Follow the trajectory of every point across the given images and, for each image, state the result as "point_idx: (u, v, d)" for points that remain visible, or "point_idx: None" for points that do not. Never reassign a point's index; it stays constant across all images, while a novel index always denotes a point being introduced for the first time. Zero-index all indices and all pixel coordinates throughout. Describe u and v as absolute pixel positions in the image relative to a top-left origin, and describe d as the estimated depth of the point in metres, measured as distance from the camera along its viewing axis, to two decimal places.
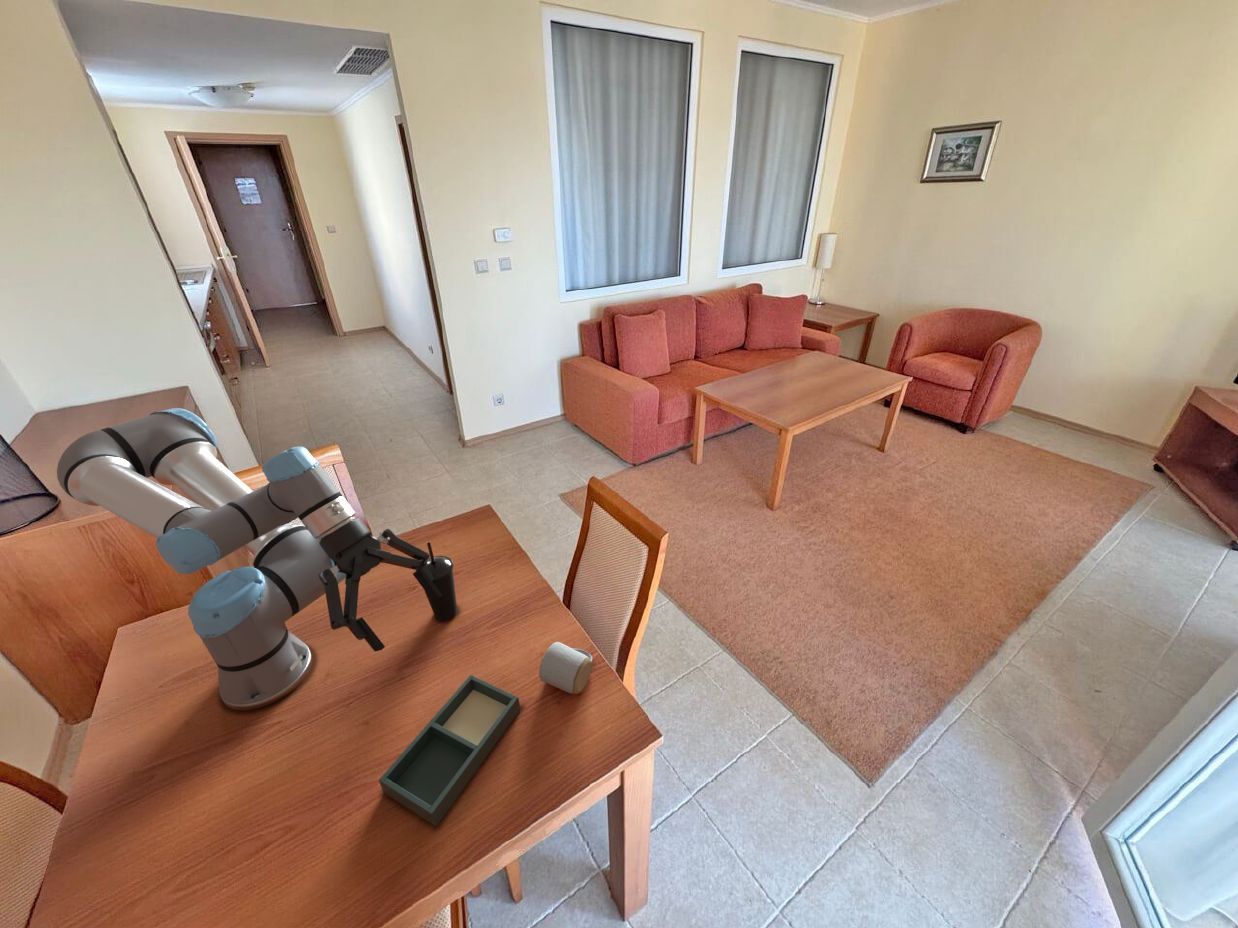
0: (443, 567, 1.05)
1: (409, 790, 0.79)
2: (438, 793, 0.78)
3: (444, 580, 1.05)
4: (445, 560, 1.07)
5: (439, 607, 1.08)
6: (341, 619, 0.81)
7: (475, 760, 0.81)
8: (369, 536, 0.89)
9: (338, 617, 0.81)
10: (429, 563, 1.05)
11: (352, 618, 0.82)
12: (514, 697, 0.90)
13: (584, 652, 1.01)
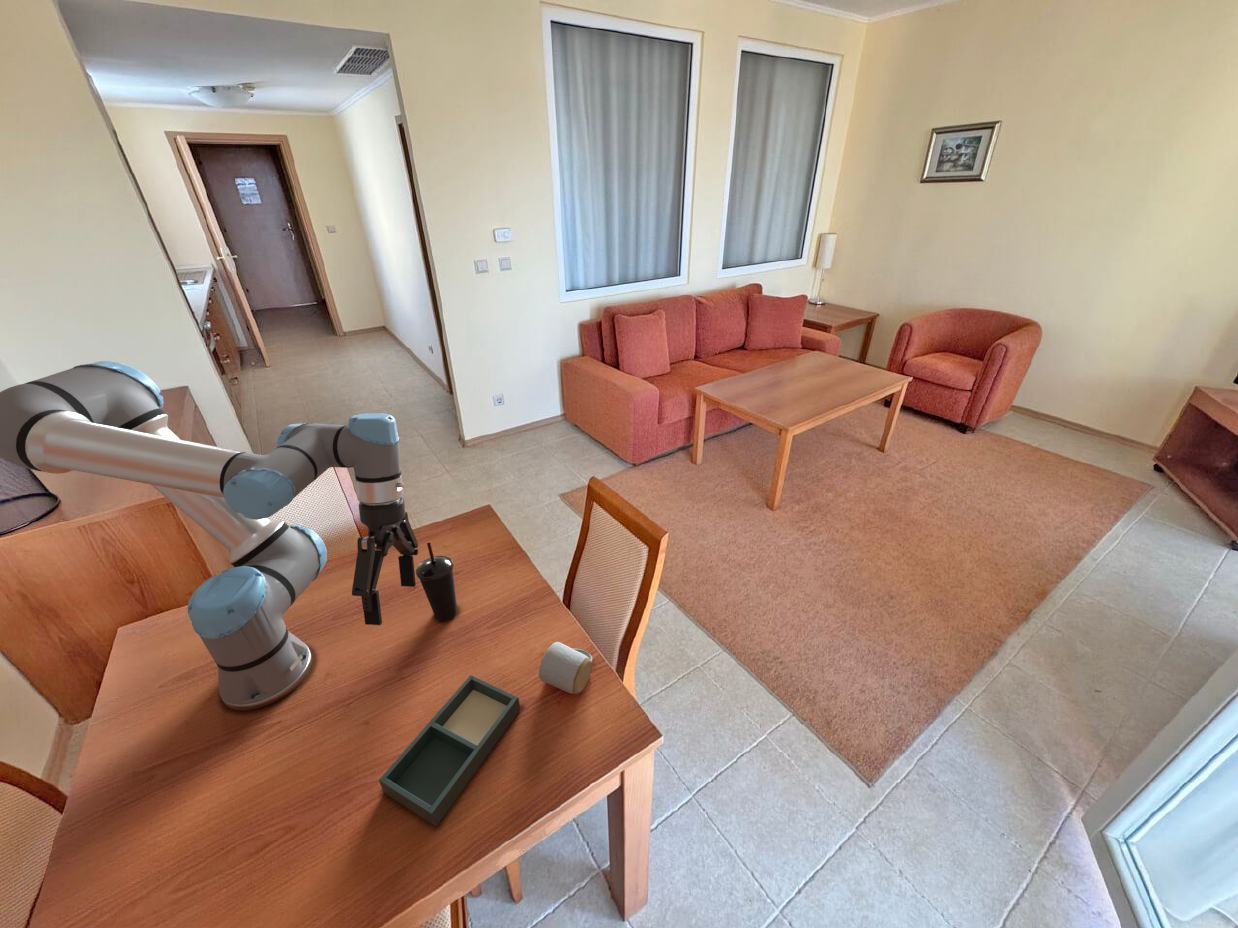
0: (443, 567, 1.05)
1: (409, 790, 0.79)
2: (438, 793, 0.78)
3: (444, 580, 1.05)
4: (445, 560, 1.07)
5: (439, 607, 1.08)
6: (368, 588, 0.84)
7: (475, 760, 0.81)
8: None
9: (367, 585, 0.84)
10: (429, 563, 1.05)
11: (374, 590, 0.86)
12: (514, 697, 0.90)
13: (584, 652, 1.01)
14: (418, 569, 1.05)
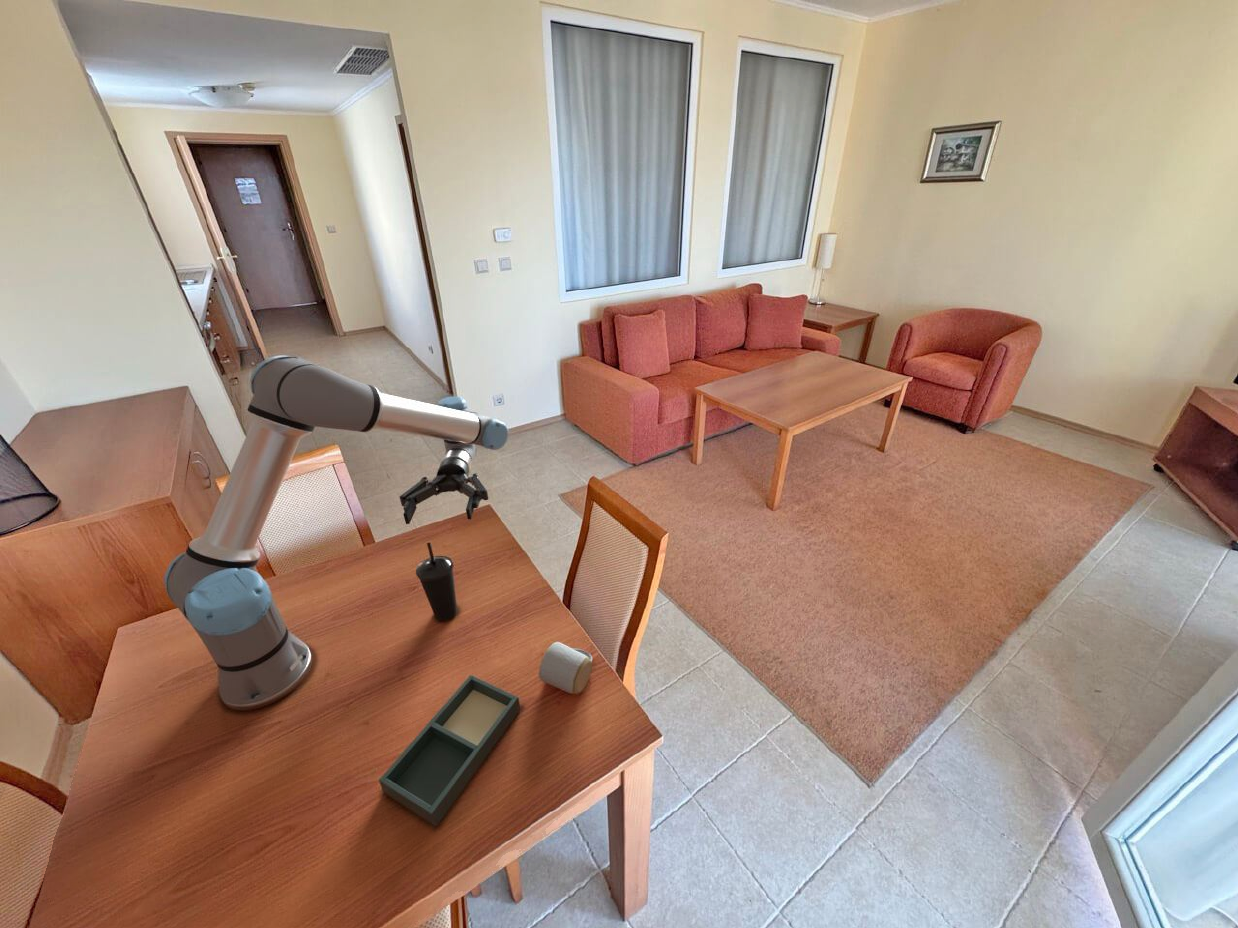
0: (443, 567, 1.05)
1: (409, 790, 0.79)
2: (438, 793, 0.78)
3: (444, 580, 1.05)
4: (445, 560, 1.07)
5: (439, 607, 1.08)
6: None
7: (475, 760, 0.81)
8: None
9: None
10: (429, 563, 1.05)
11: None
12: (514, 697, 0.90)
13: (584, 652, 1.01)
14: (418, 569, 1.05)
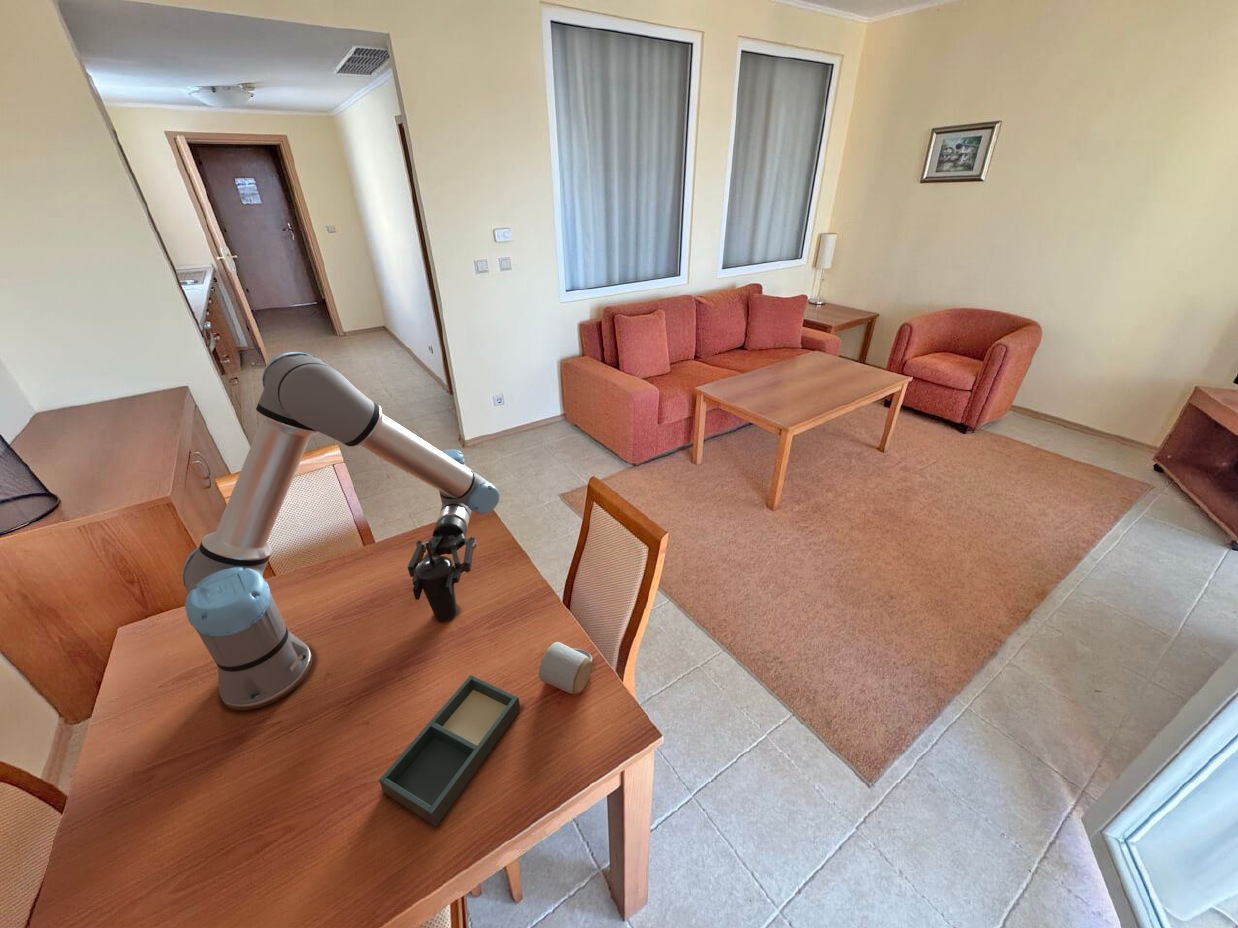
0: (442, 567, 1.05)
1: (409, 790, 0.79)
2: (438, 793, 0.78)
3: (443, 580, 1.05)
4: (444, 560, 1.07)
5: (439, 607, 1.08)
6: None
7: (475, 760, 0.81)
8: None
9: None
10: (428, 563, 1.05)
11: None
12: (514, 697, 0.90)
13: (584, 652, 1.01)
14: (417, 569, 1.05)
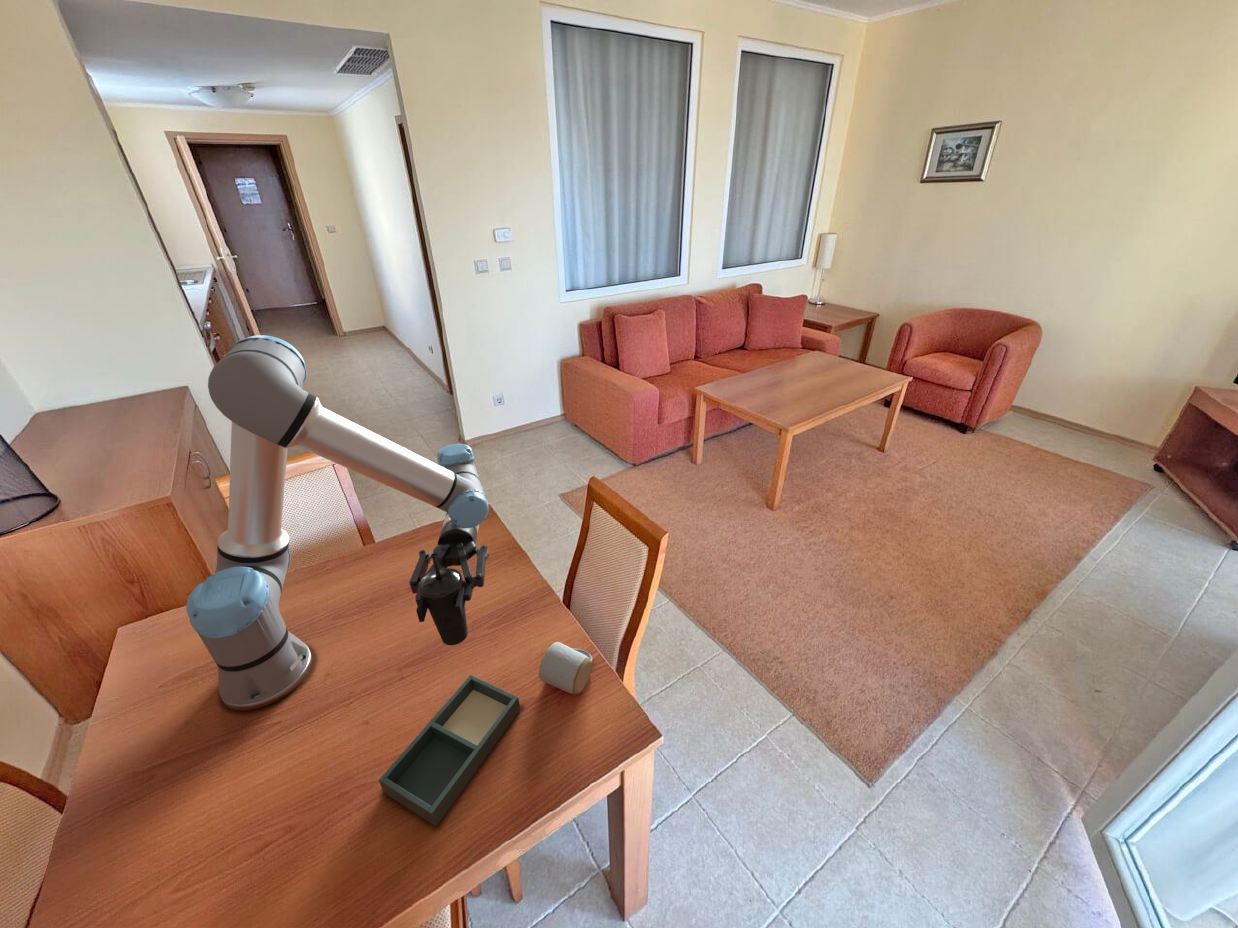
0: (451, 582, 0.88)
1: (409, 790, 0.79)
2: (438, 793, 0.78)
3: (452, 598, 0.88)
4: (453, 573, 0.90)
5: (447, 629, 0.91)
6: None
7: (475, 760, 0.81)
8: None
9: None
10: (434, 578, 0.88)
11: None
12: (514, 697, 0.90)
13: (584, 652, 1.01)
14: (421, 585, 0.88)
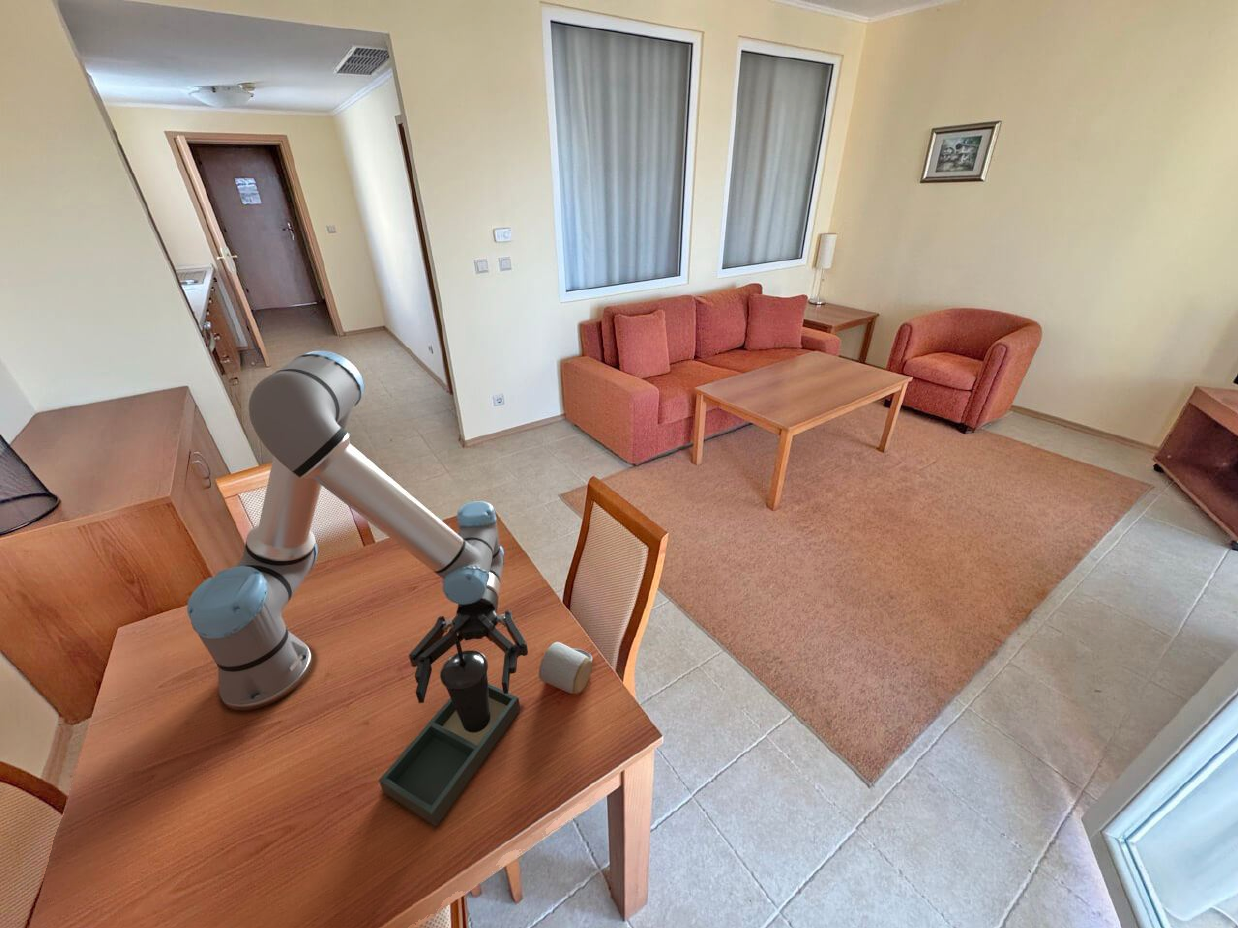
0: (476, 670, 0.81)
1: (409, 790, 0.79)
2: (438, 793, 0.78)
3: (477, 687, 0.81)
4: (477, 659, 0.83)
5: (470, 718, 0.84)
6: None
7: (475, 760, 0.81)
8: None
9: None
10: (457, 664, 0.82)
11: None
12: (514, 697, 0.90)
13: (584, 652, 1.01)
14: (443, 672, 0.81)
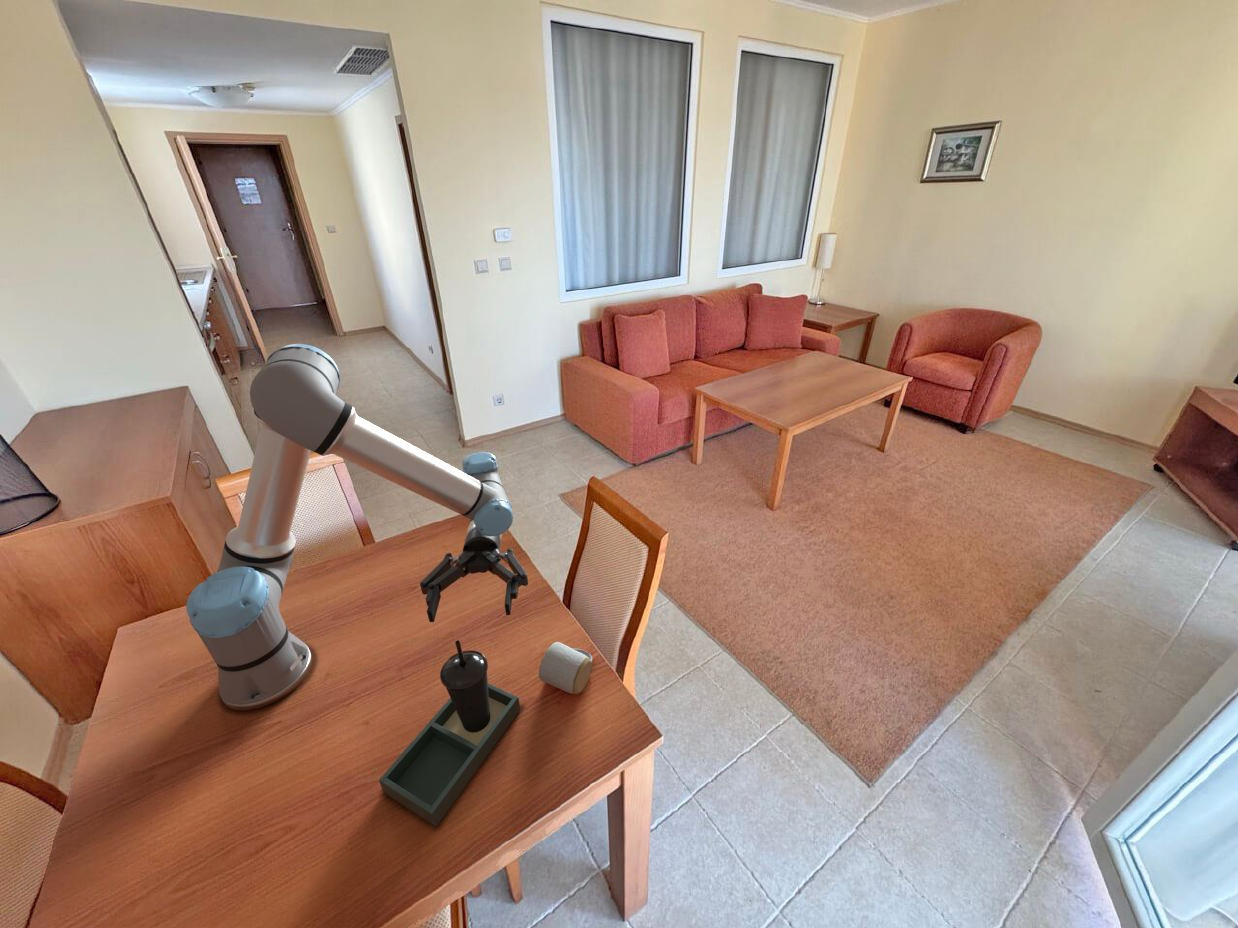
0: (475, 670, 0.81)
1: (409, 790, 0.79)
2: (438, 793, 0.78)
3: (476, 687, 0.81)
4: (477, 659, 0.83)
5: (470, 718, 0.84)
6: None
7: (475, 760, 0.81)
8: None
9: None
10: (457, 664, 0.82)
11: None
12: (514, 697, 0.90)
13: (584, 652, 1.01)
14: (443, 672, 0.81)
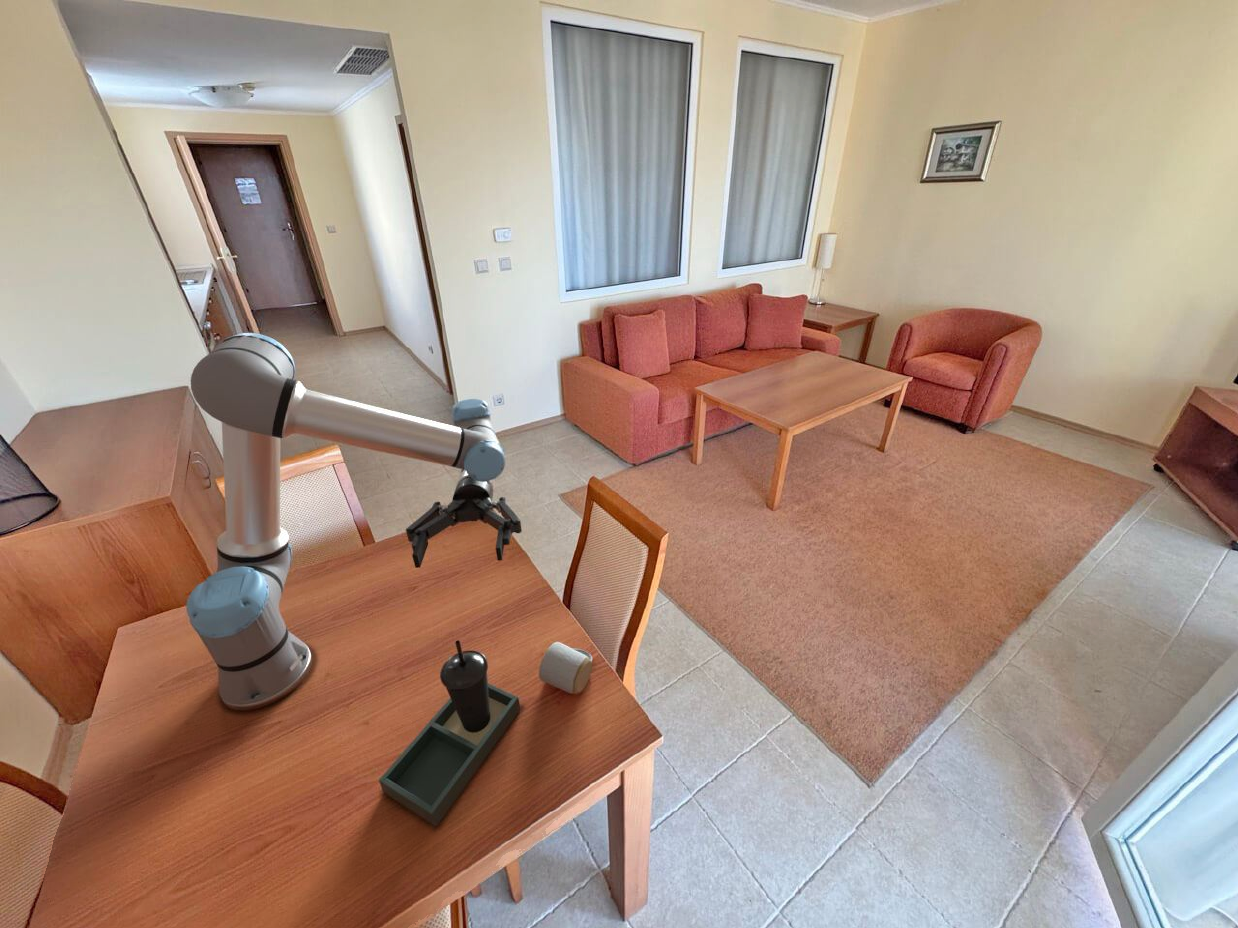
0: (475, 670, 0.81)
1: (409, 790, 0.79)
2: (438, 793, 0.78)
3: (476, 687, 0.81)
4: (477, 659, 0.83)
5: (470, 718, 0.84)
6: None
7: (475, 760, 0.81)
8: None
9: None
10: (457, 664, 0.82)
11: None
12: (514, 697, 0.90)
13: (584, 652, 1.01)
14: (443, 672, 0.81)
